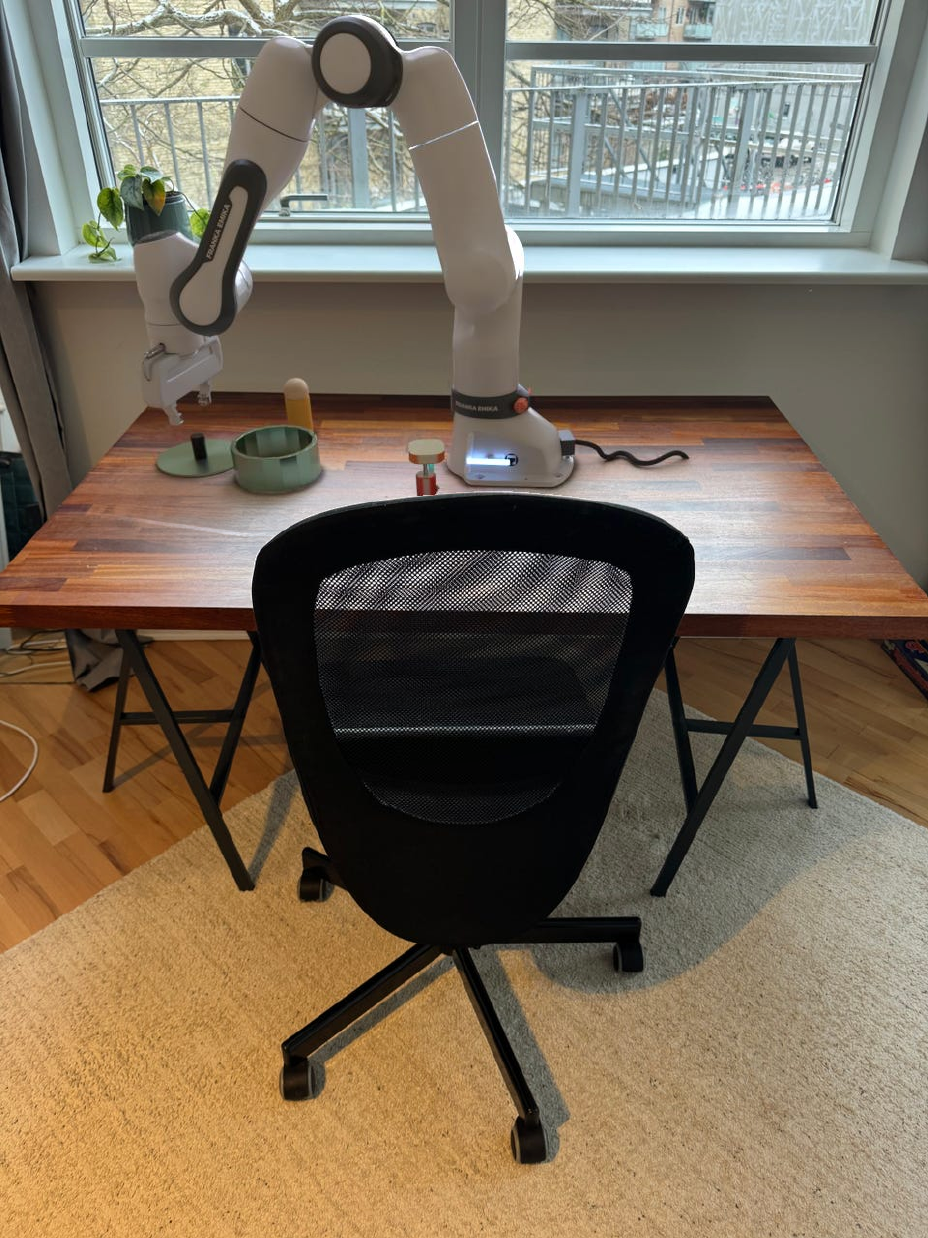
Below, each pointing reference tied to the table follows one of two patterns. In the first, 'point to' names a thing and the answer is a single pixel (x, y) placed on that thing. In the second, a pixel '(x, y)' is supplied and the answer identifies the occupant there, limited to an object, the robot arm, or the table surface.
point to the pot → (276, 458)
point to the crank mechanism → (426, 454)
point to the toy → (298, 404)
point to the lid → (197, 457)
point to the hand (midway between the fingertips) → (191, 414)
